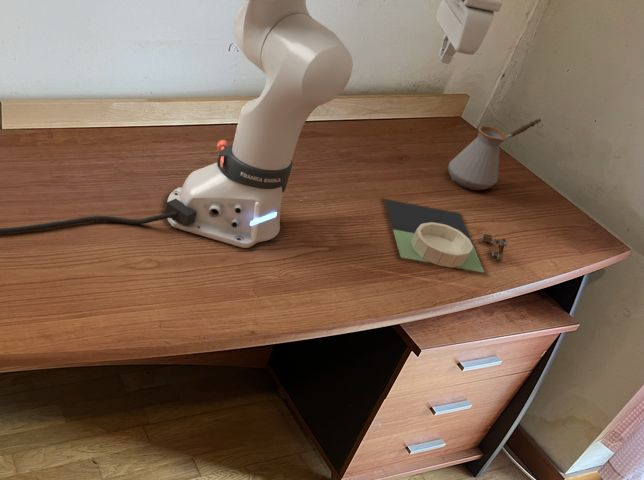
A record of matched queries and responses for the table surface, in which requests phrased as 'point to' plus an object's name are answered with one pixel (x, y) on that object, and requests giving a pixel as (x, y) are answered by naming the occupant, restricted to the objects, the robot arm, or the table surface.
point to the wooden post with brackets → (496, 241)
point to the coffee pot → (481, 158)
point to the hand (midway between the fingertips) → (443, 60)
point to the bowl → (441, 244)
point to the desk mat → (412, 216)
